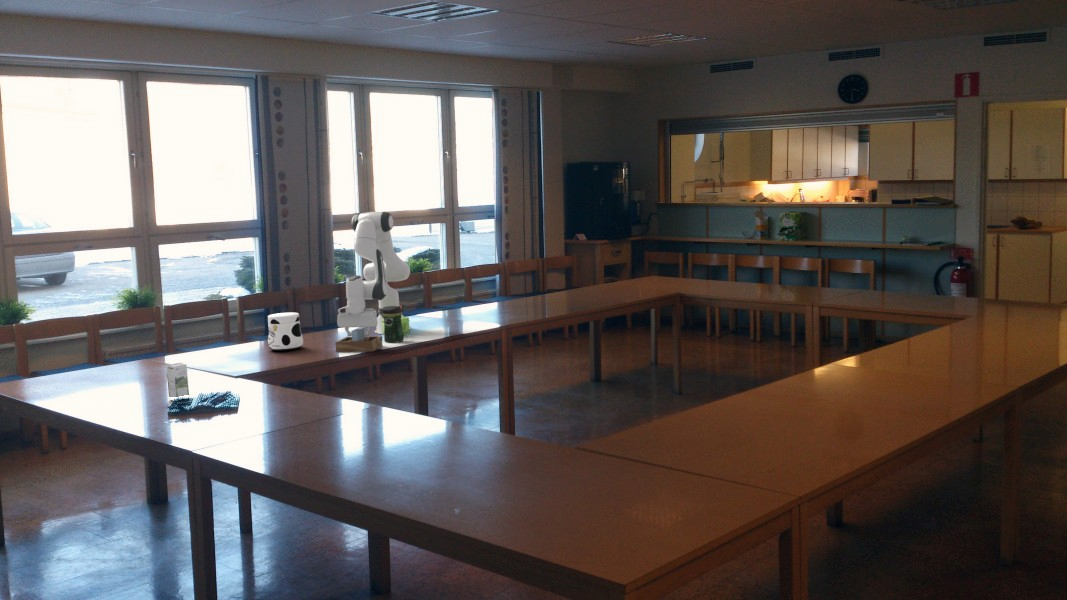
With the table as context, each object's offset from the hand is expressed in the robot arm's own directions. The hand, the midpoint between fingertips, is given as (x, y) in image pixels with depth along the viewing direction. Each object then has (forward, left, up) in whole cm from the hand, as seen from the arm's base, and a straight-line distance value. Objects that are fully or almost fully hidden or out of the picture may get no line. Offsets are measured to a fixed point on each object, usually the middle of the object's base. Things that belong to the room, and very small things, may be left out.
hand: (358, 336), depth 473 cm
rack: (0, 0, -7) cm, 7 cm away
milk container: (-1, -40, -7) cm, 41 cm away
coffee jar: (-20, +11, -7) cm, 24 cm away
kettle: (-36, +6, -7) cm, 37 cm away
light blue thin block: (0, 0, -6) cm, 6 cm away
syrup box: (+105, -34, -7) cm, 111 cm away
